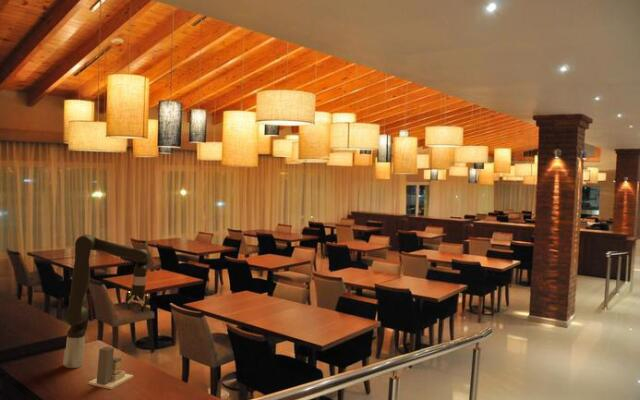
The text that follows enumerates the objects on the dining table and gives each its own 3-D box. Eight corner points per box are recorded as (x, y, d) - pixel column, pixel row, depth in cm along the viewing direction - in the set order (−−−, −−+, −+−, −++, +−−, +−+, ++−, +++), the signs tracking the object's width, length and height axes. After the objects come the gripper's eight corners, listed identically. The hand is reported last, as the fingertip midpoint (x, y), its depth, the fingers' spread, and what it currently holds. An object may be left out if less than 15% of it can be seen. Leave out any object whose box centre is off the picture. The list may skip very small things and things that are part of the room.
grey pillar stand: (88, 384, 254) (91, 347, 254) (111, 372, 272) (114, 338, 272) (111, 389, 251) (114, 352, 250) (133, 377, 268) (136, 343, 268)
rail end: (108, 377, 262) (110, 359, 262) (113, 375, 266) (114, 357, 266) (114, 379, 261) (116, 360, 261) (119, 376, 265) (121, 358, 265)
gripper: (124, 282, 281) (121, 310, 282) (145, 286, 278) (142, 314, 278) (132, 280, 289) (129, 307, 289) (153, 284, 285) (150, 311, 285)
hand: (136, 310), depth 283 cm, fingers open, 8 cm apart
